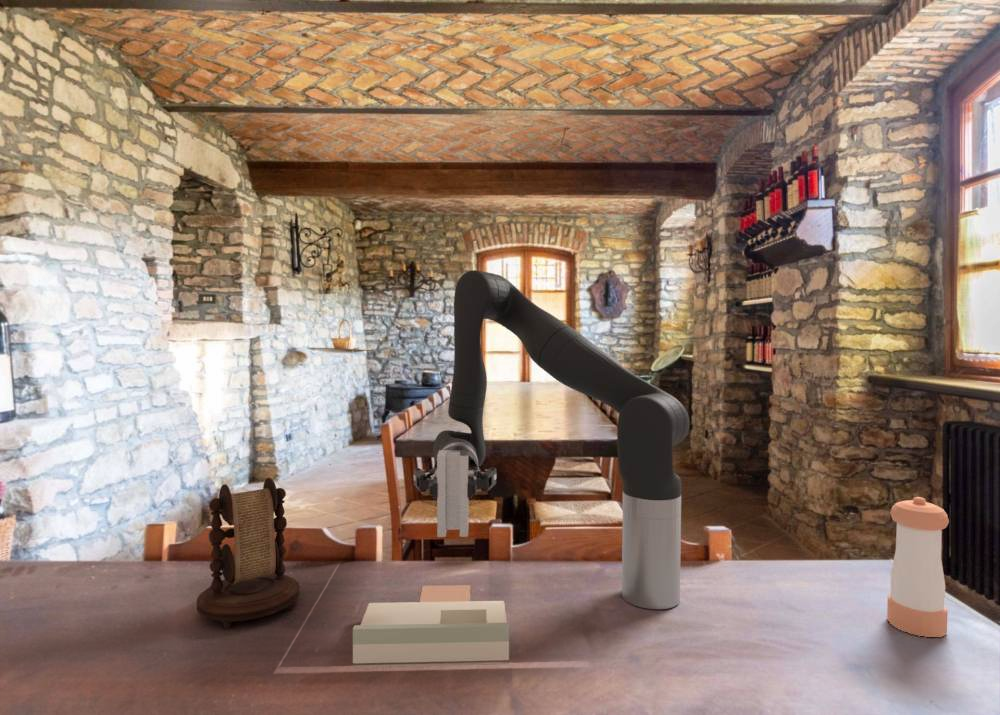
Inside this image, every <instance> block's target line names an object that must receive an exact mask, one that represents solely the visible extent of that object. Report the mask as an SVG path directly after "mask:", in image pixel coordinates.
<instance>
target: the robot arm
mask: <svg viewBox="0 0 1000 715" xmlns="http://www.w3.org/2000/svg"><path fill="white" fill-rule="evenodd" d="M453 298H454V299H453V300H454V301H453V321H454V322H453V328H454V329H453V330H454V331H453V333H454V334H453V338H454V339H453V340H454V342H453V344H454V345H453V346H454V352H453V353H454V358H453V373H452V374H453V376H452V383H451V389H450V396H449V401H448V402H449V403H448V408H447V409H448V410H447V412H448V413H447V414H448V417H449V418H450V419H452V420H453V421H456V422H459V423H461V424H464V425H466V426H467V427H468V429H469V430H470V432H463V431H455V430H450V429H448V430H443V431H440V433H438V435H437V436H436V437H435V440H434V444H433V456H434V459H435V463H434V466H433V467H432V468H431V469H430V470H429V471H428V472H426V470H425V469H421V468H419V467H415V468H413V486H414V487H416V489H417V490H418V492H420V493H426V492H428V495H429V496H432V499H437V498H438V483H437V455H438V452H439V450H468V485H467V497H468V499H472V498H473V496H476V495H478V490H480V491H481V492H484V493H487V492H489V491H490V490H491V489H492V488H493V487H494V486H496V484H497V468H496V467H490V468H488V469H484V471H482V470H481V468H479V467H480V466H482V465H483V463H484V461H485V459H486V455H487V454H486V453H487V452H486V449H487V448H486V442H485V436H484V435H485V434H484V427H483V422H484V421H483V418H484V417H483V416H484V408H485V402H486V401H485V400H486V394H487V384H488V381H487V380H488V378H487V370H486V365H485V362H484V358H483V353H482V346H481V336H482V335H481V332H482V327H483V323H484V320H489V321H493V322H495V323H497V324H499V325H501V326H502V327H504V328H505V329H507V330H508V331H510V332H511V333H513V334H514V335H515V336H516V337H517V338H518V339H519V340H520V342H521V344H522V345H523V347H524V349H525V351H526V352H527V354H528V356H529V357H530V359H531V360H532V361H533V362H534V363H535V365H537V366H538V367H539V368H540V369H541V370H543V371H544V372H546V373H547V374H548V375H549V376H551V378H553V379H555V380H556V381H558V382H559V383H560V384H562V385H564V386H565V387H568V388H570V389H572V390H574V391H576V392H578V393H581V394H582V395H585V396H588V397H590V398H592V399H596V400H597V401H599V402H601V403H603V404H605V405H607V406H608V407H610V408H611V409H612V410H614V411H615V412H616V413H618V420H617V427H616V434H617V435H616V437H617V440H616V441H617V442H616V444H617V466H618V473H619V476H620V478H621V481H622V529H621V530H622V534H621V535H622V536H621V537H622V539H621V540H622V542H621V543H622V544H621V545H622V546H621V551H622V552H621V596H622V598H623V599H624V601H626V602H628V603H629V604H631V605H633V606H636V607H638V608H643V609H649V610H666V609H671V608H674V607H676V606H678V605H679V603H680V600H681V553H682V552H681V551H682V550H681V545H682V543H681V541H682V480H681V477H680V476H679V475H678V474H676V472H675V470H674V452H673V451H674V450H673V448H674V447H675V446H677V445H678V444H680V443H681V442H682V441H683V440H685V438H686V437H687V436H688V434H689V431H690V425H691V424H690V416H689V414H688V411H687V410H686V408H685V407H684V405H683V404H682V403H681V401H679V400H678V399H677V397H674V396H673V395H672V394H670V393H668V392H666V391H664V389H663V390H662V389H661V388H659V387H657V386H655V385H653V384H652V383H650V382H648V381H647V380H645V379H643V378H641V377H639V376H637V375H636V374H634V373H633V372H631V371H630V370H629V369H627V368H625V366H623V365H622V364H621V363H619V362H618V361H617V360H615V359H614V358H613V357H612V356H610V355H609V354H608V353H606V352H605V351H604V350H602V349H601V348H599V347H598V346H597V345H596V344H594V343H592V342H591V341H590V340H589V339H588V338H587V337H585V336H584V335H582V334H581V333H580V332H578V331H577V330H575V329H574V328H573V327H571V326H570V325H568V324H567V323H566V322H563V321H562V320H561V319H559V318H557V317H556V316H554V315H552V314H551V313H550V312H548V311H546V310H545V309H543V308H541V307H539V306H538V305H536V304H535V303H534V302H532V301H531V300H530V299H529V298H528V297H527V296H526V295H525V294H524V293H523V292H522V291H520V290H519V289H518V288H517V287H516V286H515V285H514V284H513V283H512V282H510V281H509V280H508V279H507V278H506V277H504V276H502V275H499V274H496V273H491V272H488V271H483V270H473V269H472V270H469V271H468V270H467V271H466V272H464V273H463V274H462V275H461V276H460V277H459V279H458V280H457V282H456V285H455V289H454V297H453Z"/></svg>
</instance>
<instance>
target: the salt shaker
mask: <svg viewBox="0 0 1000 715" xmlns="http://www.w3.org/2000/svg"><path fill="white" fill-rule="evenodd" d="M889 513H890V516H891V518H892V520H893V521H894V522H895V523H896V532H895V533H896V536H895V537H896V538H895V552H894V557H893V560H892V561H893V562H892V566H891V570H890V594H889V595H888V596H887V605H886V606H887V609H886V612H887V613H886V621H887V620H888V621H889V622H890V623H891V624H892V625H893V626H894V627H896V628H899V629H900V630H903V631H905V632H908V633H911V634H915V635H919V636H918V637H920V636H926V637H941V636H944V635H946V633H947V634H948V609H947V607H946V606H945V602H946V601H945V600H946V599H945V598H946V580H945V575H944V569H943V568H944V566H943V562H942V538H943V537H942V535H943V534H942V530H944V529H946V528H948V525H949V523H950V519H949V517H948V514H947V512H946V511H945V510H944V508H942V507H940V506H938V505H936V504H934V503H931V502H927V500H926V499H925V498H924V497H922V496H914V497H913V498H912V499H911V500H910V499H909V500H908V499H907V500H902V501H898V502H895V503H894V504H893V505H892V507H891V509H890V512H889ZM888 621H887V622H888ZM892 625H891V626H892ZM893 626H892V627H893ZM894 627H893V628H894ZM896 628H895V629H896ZM900 630H899V631H900ZM903 631H902V632H903ZM905 632H904V633H905ZM908 633H907V634H908ZM911 634H910V635H911ZM915 635H914V636H915ZM946 636H947V635H946ZM926 637H925V638H926ZM944 637H945V636H944ZM941 638H942V637H941Z"/></svg>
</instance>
